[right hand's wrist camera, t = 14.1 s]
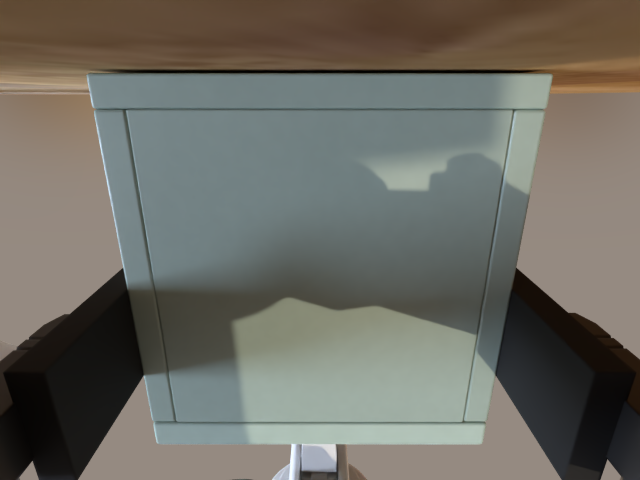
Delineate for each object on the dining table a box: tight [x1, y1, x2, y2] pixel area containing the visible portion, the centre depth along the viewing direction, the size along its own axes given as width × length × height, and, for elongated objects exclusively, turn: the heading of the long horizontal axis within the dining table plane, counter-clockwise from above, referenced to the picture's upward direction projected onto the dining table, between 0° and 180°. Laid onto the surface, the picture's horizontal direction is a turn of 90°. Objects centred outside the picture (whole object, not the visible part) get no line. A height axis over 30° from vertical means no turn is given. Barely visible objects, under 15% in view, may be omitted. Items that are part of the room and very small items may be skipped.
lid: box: [154, 420, 486, 444], centre depth 19 cm, size 14×10×8 cm
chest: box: [87, 73, 553, 422], centre depth 16 cm, size 13×10×10 cm
